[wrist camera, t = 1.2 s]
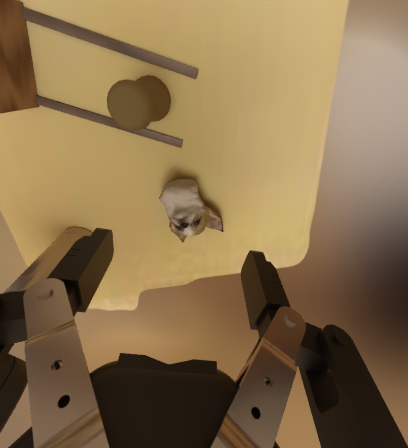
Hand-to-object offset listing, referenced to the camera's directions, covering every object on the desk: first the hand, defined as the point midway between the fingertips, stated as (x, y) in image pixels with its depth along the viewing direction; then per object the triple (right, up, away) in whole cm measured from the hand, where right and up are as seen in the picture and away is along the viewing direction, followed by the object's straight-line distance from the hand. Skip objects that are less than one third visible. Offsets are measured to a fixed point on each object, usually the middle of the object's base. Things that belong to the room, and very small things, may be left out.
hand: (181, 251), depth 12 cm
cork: (-7, +21, +20) cm, 29 cm away
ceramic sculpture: (-1, +6, +30) cm, 31 cm away
